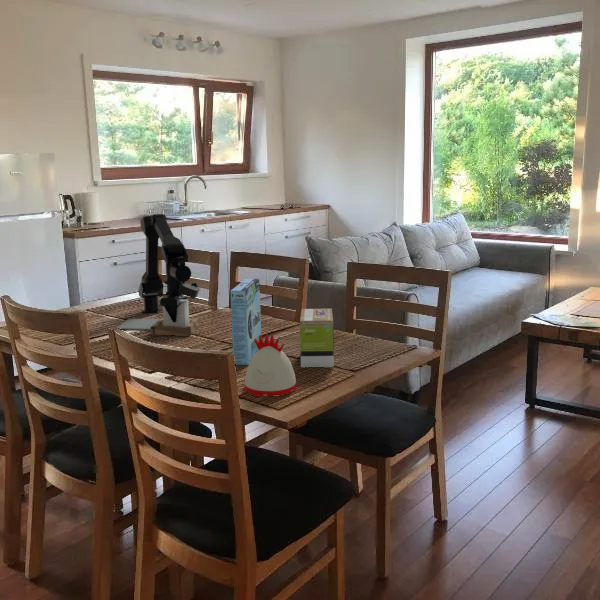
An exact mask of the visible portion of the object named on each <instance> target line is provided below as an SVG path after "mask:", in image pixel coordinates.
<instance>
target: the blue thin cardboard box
mask: <svg viewBox="0 0 600 600" xmlns="http://www.w3.org/2000/svg"><path fill="white" fill-rule="evenodd" d="M260 288H261V287H260V278H245V279H243V280H242V281H241V282H240V283H239V284H237V285H236V286H235V287H234V288H232V289H231V290H230V291H229V292H230V313H231V315H230V318H231V335H232V336H231V338H232V355H233V354H234V356H235V363H236V365H235V366H249V363H250V362H249V361H250V360H251V359H252V358H253V356H254V355H255V354H256V352H257V351H259V349H258V347H257V345H256V343H255V341H254V339H255V338H256V339H257V341H258V342H259V335H260V334H261V335H262V320H261V317H262V316H261V292H260Z"/></svg>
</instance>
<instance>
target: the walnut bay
mask: <svg viewBox="0 0 600 600" xmlns="http://www.w3.org/2000/svg"><path fill="white" fill-rule="evenodd" d="M159 319H160V320H158V321H157V322H156V323H155V324H154V325H152V326H151V330H150V335H151V336H162V335H176V336H175V337H180V336H181V337H190V336H192V335H193V334H194V332H196V331H197V329H198V328H199V327H200V326H201V318H200V317H194V319H192V320H191V321H190V322H189V325H188V326H164V316H162V317H160V318H159ZM191 334H192V335H191Z"/></svg>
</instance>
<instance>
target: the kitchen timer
mask: <svg viewBox="0 0 600 600" xmlns="http://www.w3.org/2000/svg"><path fill="white" fill-rule="evenodd" d="M254 341H255V343H256V345H257V347H258V349H259V351H257V352H256V354H255V355H254V356H253V358H252V359H251V360H250V361H249V362H250V363H249V364H248V365H247V366H248V367H247V369H246V370H247V371H246V373H245V378H244V390H245V392H246V391H247V392H246V393H248V392H249V393H251V394H250V395H252V394H253V396H255V395H259V396H258V397H261V396H273V395H282V394H286V393H290V392H292V391H293V392H295V391H296V390H297V379H296V374H295V371H294V368H293V365H292V362H291V360H290V359H289V357H288V356H287V355H286V353H285V352H283V348H284V346H285V343H282V345H280V347H279V341H280V339H279V338H278V339H276V340H275V338H274V334H271V335H270V338H269V334H268V333H267V334H266V335H265V338H264V339H263V335H262V333H261V334H260V335H259V342H258V341H257V339H256V338H255V339H254ZM293 392H292V393H293ZM249 393H248V394H249ZM290 394H291V393H290Z"/></svg>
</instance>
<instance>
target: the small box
mask: <svg viewBox="0 0 600 600" xmlns="http://www.w3.org/2000/svg"><path fill="white" fill-rule="evenodd" d="M180 303H181V305H180V306H179V307H178V308H177V318H176V322H173V321H172V319H171V318H170V316H169V314H168V312H167V311H166V309H165V307H164V306H162V311H163V317H164V326H188V325H189V324H190V309H189V299H187V300H180Z"/></svg>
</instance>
